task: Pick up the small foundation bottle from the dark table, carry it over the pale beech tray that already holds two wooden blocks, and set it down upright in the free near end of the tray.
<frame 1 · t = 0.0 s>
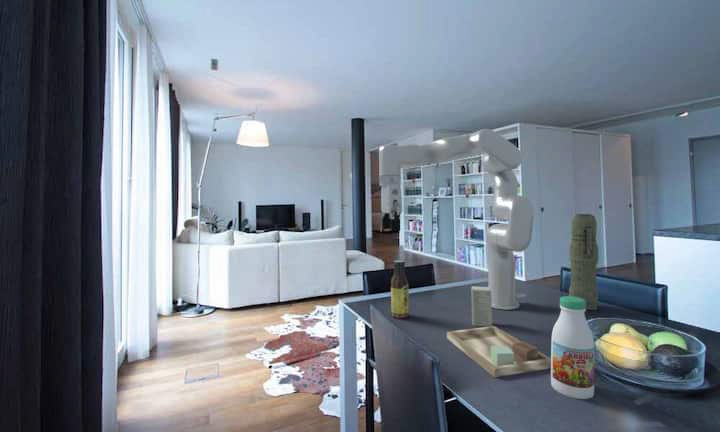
hand: (390, 229, 114), 31 cm above the table, tool pointing down, fingers open, 9 cm apart
sauce bottle: (400, 316, 116), on the table
sage block: (502, 365, 79), point 1 cm above the table, touching tray
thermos: (582, 307, 121), on the table
walnut block: (524, 362, 80), point 1 cm above the table, touching tray
skincare box: (481, 324, 107), on the table
tray: (494, 353, 86), on the table
milk bottle: (571, 391, 69), on the table
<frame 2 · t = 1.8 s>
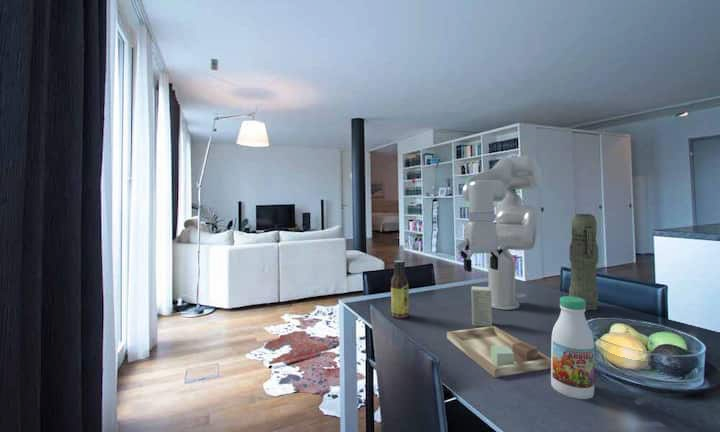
hand: (481, 270, 106), 18 cm above the table, tool pointing down, fingers open, 9 cm apart
nothing on the table moved.
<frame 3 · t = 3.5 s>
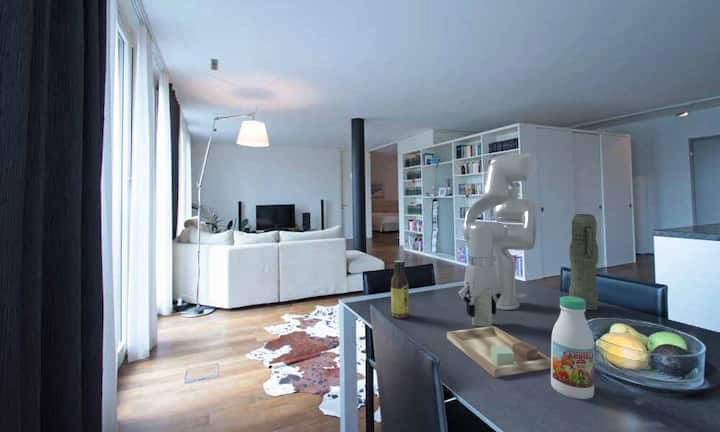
hand: (481, 314, 107), 3 cm above the table, tool pointing down, fingers closed on skincare box, 7 cm apart
skincare box: (481, 324, 107), on the table, touching gripper
everything else where it was.
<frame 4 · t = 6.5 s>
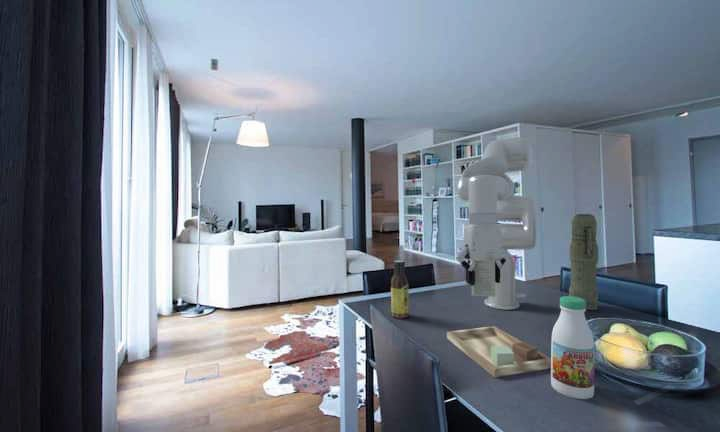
hand: (483, 282, 90), 18 cm above the table, tool pointing down, fingers closed on skincare box, 7 cm apart
skincare box: (482, 295, 91), point 14 cm above the table, touching gripper
everything else where it was.
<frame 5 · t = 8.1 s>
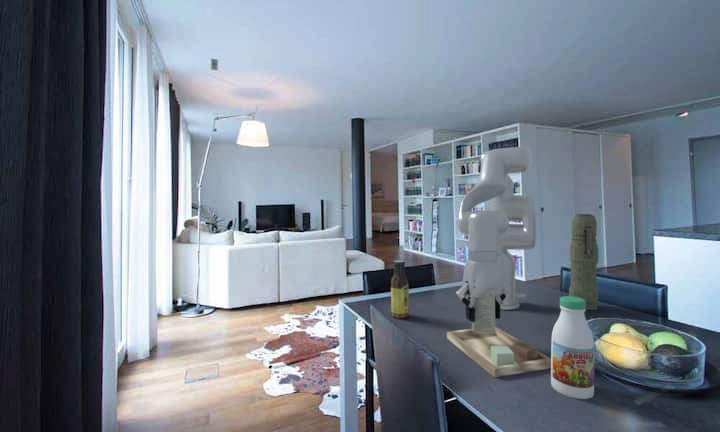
hand: (483, 318, 91), 8 cm above the table, tool pointing down, fingers closed on skincare box, 7 cm apart
skincare box: (482, 330, 91), point 4 cm above the table, touching gripper
everything else where it was.
when the fingers open (5 cm above the table, at t = 9.3 s): skincare box stays where it is, resting on tray.
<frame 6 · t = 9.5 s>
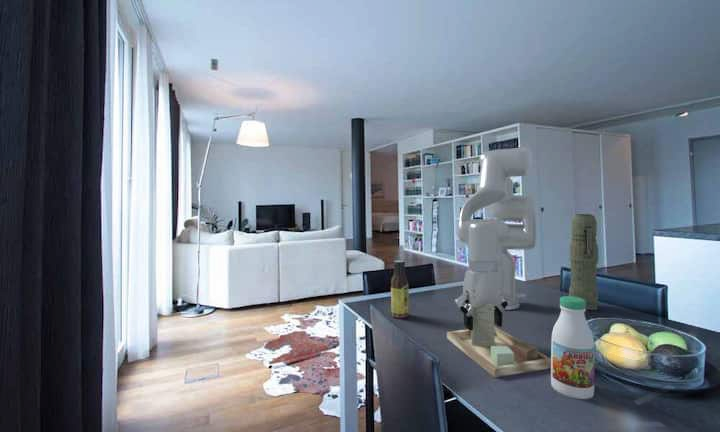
hand: (483, 326, 91), 5 cm above the table, tool pointing down, fingers open, 8 cm apart
skincare box: (482, 344, 91), resting on tray
everything else where it was.
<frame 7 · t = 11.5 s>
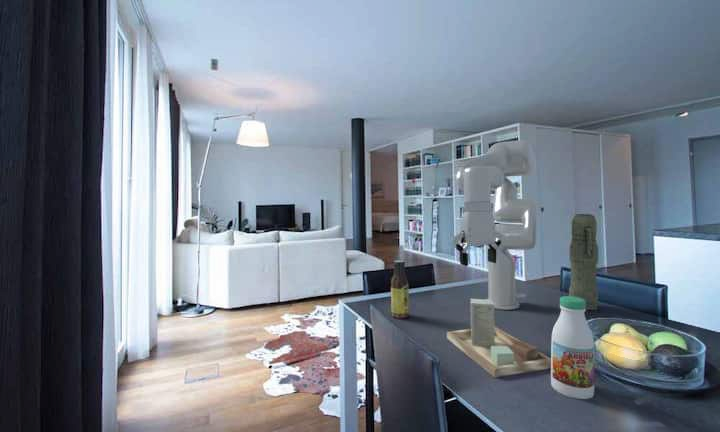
hand: (478, 263, 98), 22 cm above the table, tool pointing down, fingers open, 9 cm apart
nothing on the table moved.
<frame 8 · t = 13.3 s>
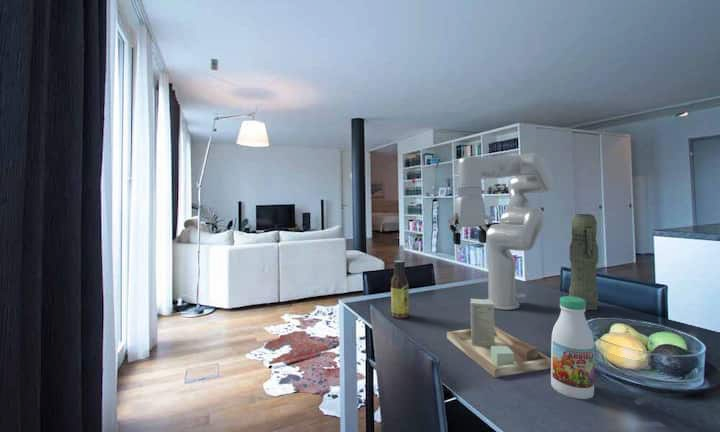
hand: (469, 243, 110), 26 cm above the table, tool pointing down, fingers open, 9 cm apart
nothing on the table moved.
at the end: skincare box inside the target area on the tray (5.1 cm from its centre), point 0.4 cm above the tray's base; skincare box tilted 0°; the gripper is holding nothing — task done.
